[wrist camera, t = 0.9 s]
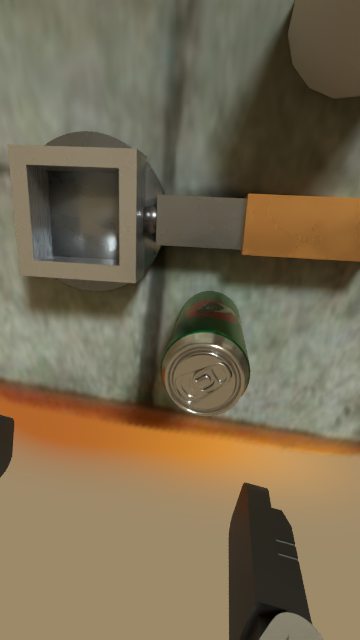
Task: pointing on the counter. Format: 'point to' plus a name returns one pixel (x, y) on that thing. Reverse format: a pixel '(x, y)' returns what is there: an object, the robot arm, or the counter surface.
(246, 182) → the counter surface
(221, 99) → the counter surface
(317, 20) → the cup
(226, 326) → the soda can
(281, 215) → the ratchet
